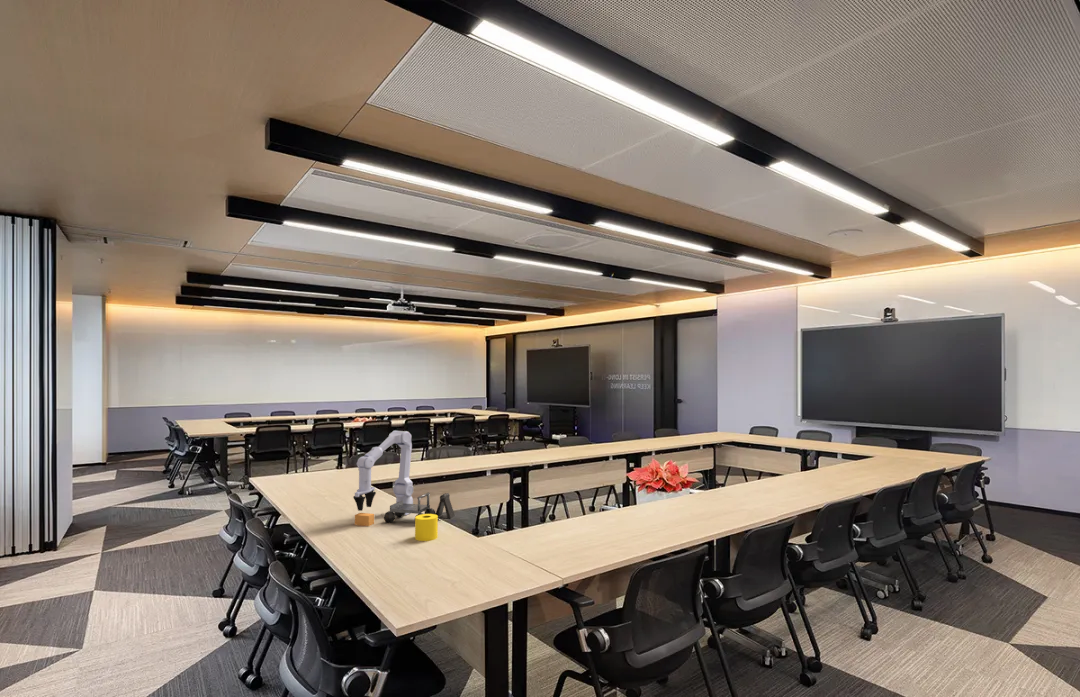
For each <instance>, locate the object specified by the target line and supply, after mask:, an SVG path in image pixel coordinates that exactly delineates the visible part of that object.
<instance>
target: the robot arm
mask: <svg viewBox="0 0 1080 697" xmlns="http://www.w3.org/2000/svg"><path fill="white" fill-rule="evenodd" d="M412 443H413V442H412V434H411V433H410V432H409V431H407V430H404V431H403V430H397V429H395V430H393V431H392V432H390V433H389V435H388V437H386V438H385V440H383V442H381V443H380V445H378V446H373V447H372V448H371V449H370V450H369V451H368V452H367V453H365V454H364V456H360V457H359V458H358V459H357V462H356V466H357V467H358V489H356V492H354V496H353V500H354V502H355V503H356V509H357V511H359V512H362V511H363V508H364V503H365V504H366V505H365V506H366V508H371V507H372V505H373V501H374V498H375V496H376V494H377V491H375V487H374V486H372V468H373V467H374V465H375V463H376V461H378V459H380V458H381V457H382V456H383V454H384V453H383V452H385V451H386V450H387V449H388V448H389V447H391V446H392V445H394V444H395V445H398V447H400V456H399V458H400V459H399V468H398V470H399V471H398V478H397V479H396V480H394V481H395V482H394V485H393V489H392V491H393V494H394V495H395V497H396V498H395V499H396V500H395V503H397V502H399V501H403V503H404V504H414V499H413V496H412V495H413V493H414V486H413V485H414V484H413V483H414V482H413V481H412V480H411V479H410V472H411V460H412V448H413V444H412ZM363 495H364V496H363ZM394 514H395V513H394ZM410 514H411V513H405V515H404V516H408V515H410Z"/></svg>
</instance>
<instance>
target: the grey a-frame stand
mask: <svg viewBox="0 0 1080 697" xmlns="http://www.w3.org/2000/svg"><path fill="white" fill-rule="evenodd" d="M444 510H445V514H443V512H444ZM435 513H436V515H437V516H438V519H439V520H440V519H441V520H442V519H443V520H451V519H453V518H454V517H455V516H456V514H455V512H454V508H453V506H452V502H451V500H450V493H449V492H444V493H442V494H441V495H440V496H439V503H438V505H437V509H436V510H435Z"/></svg>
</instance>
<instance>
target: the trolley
mask: <svg viewBox="0 0 1080 697" xmlns="http://www.w3.org/2000/svg"><path fill="white" fill-rule="evenodd" d="M430 493H431V492H426V493H424V494H422V495H419V496H417V503H413V504H404V503H403V501H399V502H397V503H396V502H395V503H392V504H391V505H389V510H388V511H386V512H385V513H384V514H383V519H384V520H383V521H384V522H386V523H388V524H391V523H393V522H394V521H395V520H396V517H397V518H403V517H404V516H406V515H405V513H410V514H414V515H415V514H416V515H415V517H416V516H418V515H422V514H435V515H436V510H435V509H433V508H432V507H431V505H430ZM423 498H426V504H421V499H423ZM423 512H424V513H423ZM394 513H395V514H394ZM415 517H414V518H415Z"/></svg>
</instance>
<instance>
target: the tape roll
mask: <svg viewBox="0 0 1080 697" xmlns="http://www.w3.org/2000/svg"><path fill="white" fill-rule="evenodd" d="M415 516H416V515H415ZM414 523H415V524H414V525H415V526H414V540H416V541H419V542H429V541H430V542H431V541H434V540H437V539H438V538H439V536H438V535H439V534H438V529H439V527H438V524H439V522H438V516H437V515H435V514H424V513H423V514H422V515H418V516H416V517H414Z"/></svg>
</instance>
